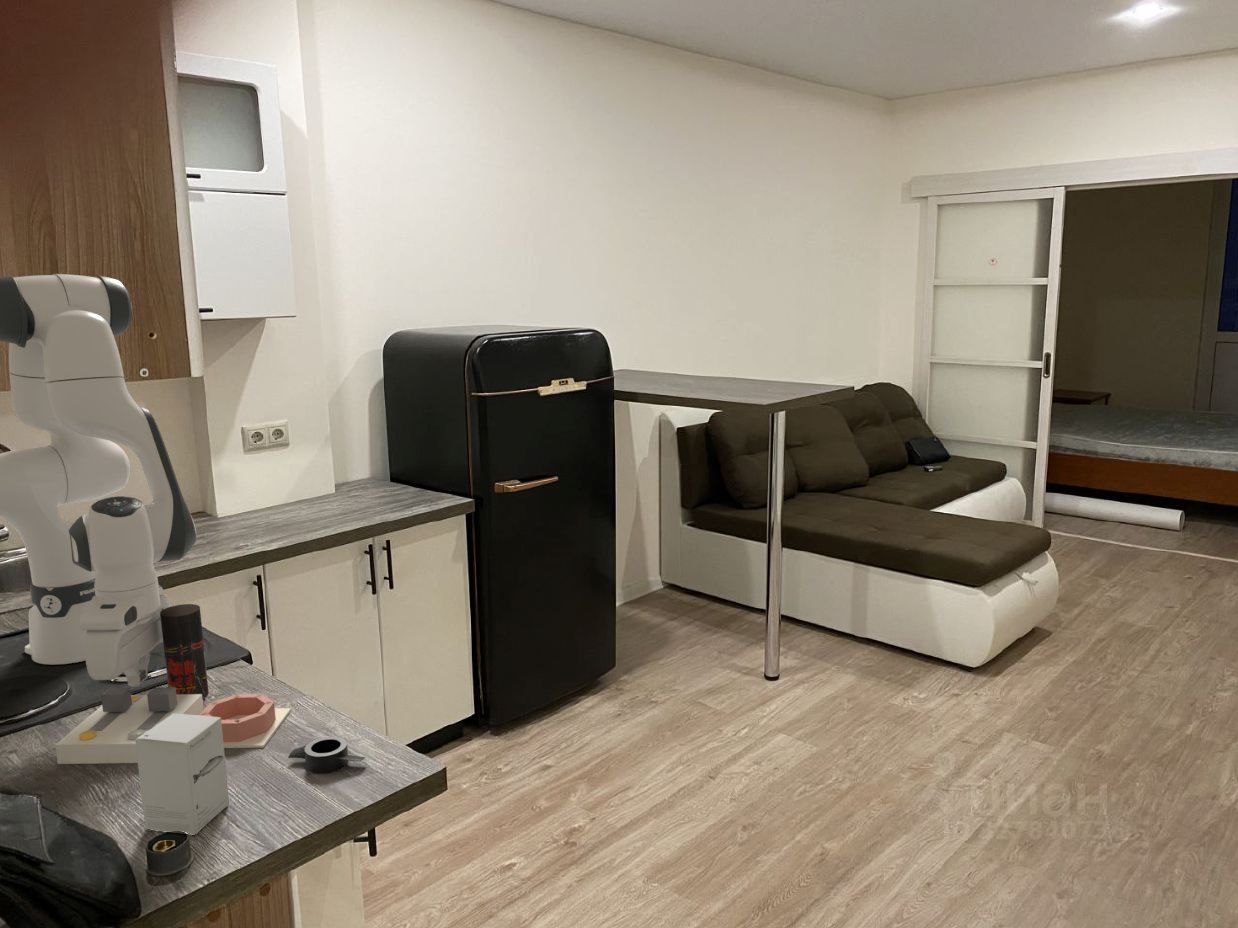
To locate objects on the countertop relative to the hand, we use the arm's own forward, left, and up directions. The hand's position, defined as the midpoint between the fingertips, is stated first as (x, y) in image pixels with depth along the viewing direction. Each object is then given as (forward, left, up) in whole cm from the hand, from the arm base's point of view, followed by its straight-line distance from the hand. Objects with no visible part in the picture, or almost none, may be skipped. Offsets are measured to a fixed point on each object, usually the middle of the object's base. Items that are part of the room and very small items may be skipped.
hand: (138, 682), depth 148 cm
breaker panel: (+9, +3, -5) cm, 11 cm away
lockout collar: (+7, +18, -5) cm, 20 cm away
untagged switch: (+6, +7, -1) cm, 10 cm away
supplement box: (+31, +21, -5) cm, 38 cm away
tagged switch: (+6, 0, -1) cm, 7 cm away
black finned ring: (+18, +35, -5) cm, 40 cm away
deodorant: (-5, +5, -5) cm, 9 cm away
